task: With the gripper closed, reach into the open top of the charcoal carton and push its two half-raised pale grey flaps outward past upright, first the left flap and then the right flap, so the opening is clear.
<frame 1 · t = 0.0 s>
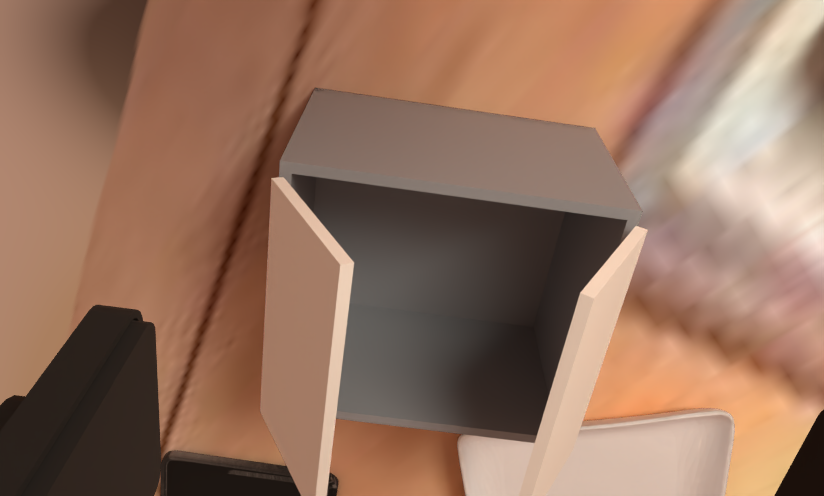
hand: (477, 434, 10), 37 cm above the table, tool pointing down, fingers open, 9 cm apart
carton: (436, 219, 50), on the table
flap 2: (575, 386, 36), point 16 cm above the table, hinge at 60.0°
flap 1: (298, 350, 35), point 16 cm above the table, hinge at 60.0°
phone: (251, 487, 64), on the table
salad plate: (587, 486, 63), on the table
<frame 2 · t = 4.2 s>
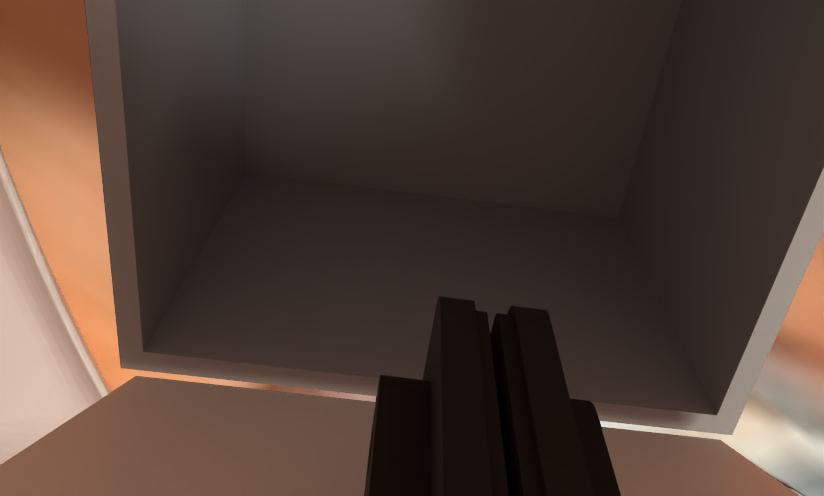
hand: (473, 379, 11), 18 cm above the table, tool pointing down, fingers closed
flap 2: (442, 481, 14), point 16 cm above the table, hinge at 63.8°, touching gripper
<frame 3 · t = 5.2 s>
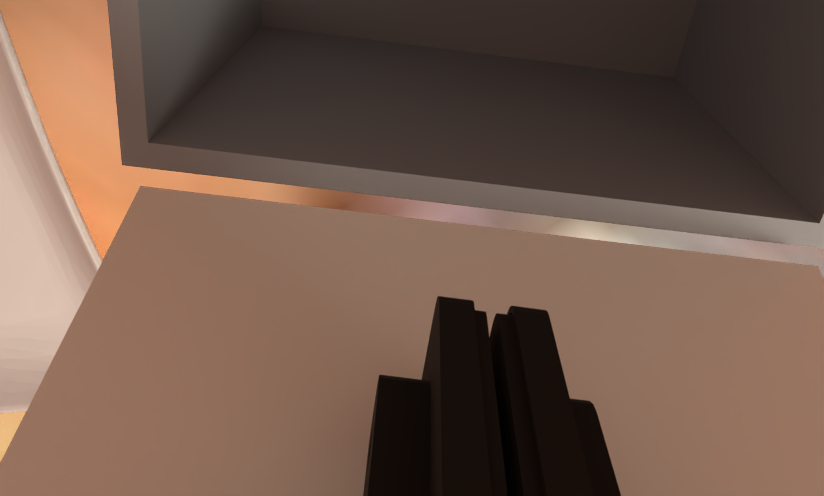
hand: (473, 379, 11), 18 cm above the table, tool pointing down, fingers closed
flap 2: (481, 396, 13), point 16 cm above the table, hinge at 106.3°, touching gripper
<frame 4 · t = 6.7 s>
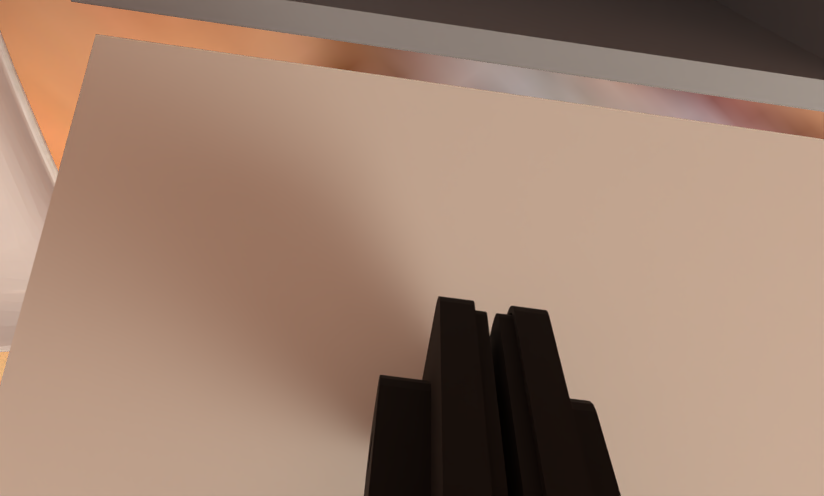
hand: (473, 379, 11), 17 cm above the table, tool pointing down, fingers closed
flap 2: (466, 304, 13), point 15 cm above the table, hinge at 134.6°, touching gripper
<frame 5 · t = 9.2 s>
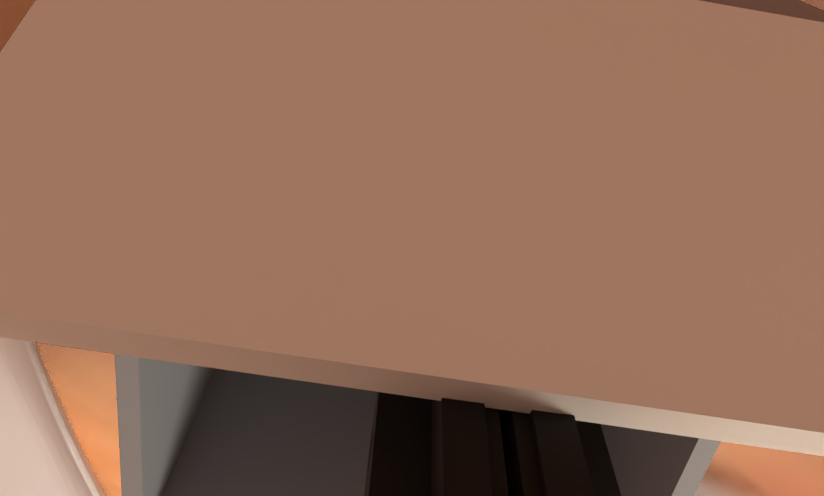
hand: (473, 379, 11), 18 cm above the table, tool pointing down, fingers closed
carton: (435, 167, 29), on the table
flap 1: (520, 144, 11), point 16 cm above the table, hinge at 65.7°, touching gripper
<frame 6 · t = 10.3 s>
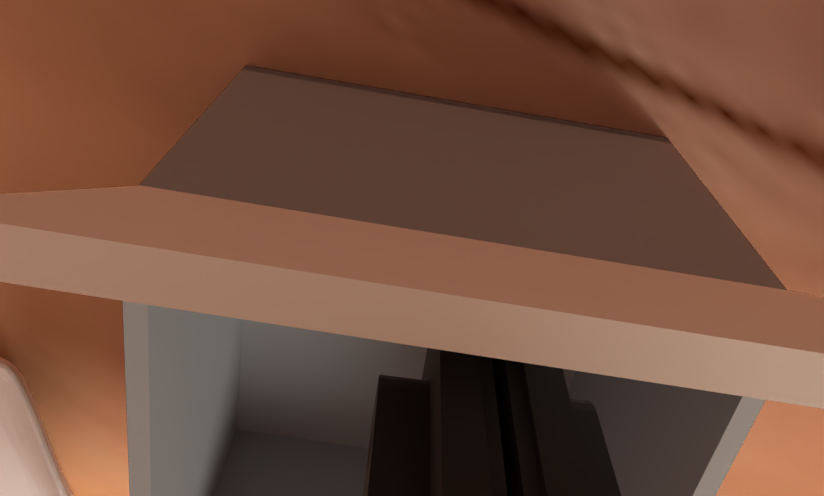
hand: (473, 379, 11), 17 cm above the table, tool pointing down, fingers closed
carton: (419, 301, 31), on the table
flap 1: (509, 282, 12), point 16 cm above the table, hinge at 113.2°, touching gripper
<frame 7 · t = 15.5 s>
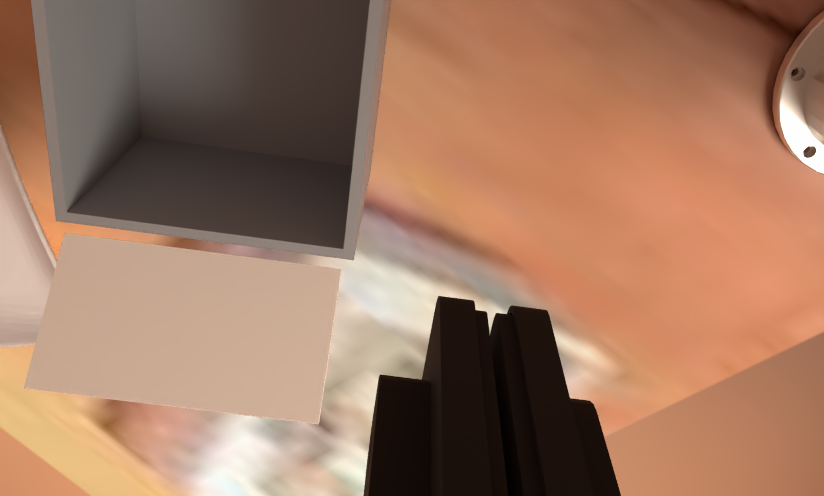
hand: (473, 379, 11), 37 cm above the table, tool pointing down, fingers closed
carton: (258, 23, 45), on the table
flap 2: (189, 327, 38), point 15 cm above the table, hinge at 134.6°
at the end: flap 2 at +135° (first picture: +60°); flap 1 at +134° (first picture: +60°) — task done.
